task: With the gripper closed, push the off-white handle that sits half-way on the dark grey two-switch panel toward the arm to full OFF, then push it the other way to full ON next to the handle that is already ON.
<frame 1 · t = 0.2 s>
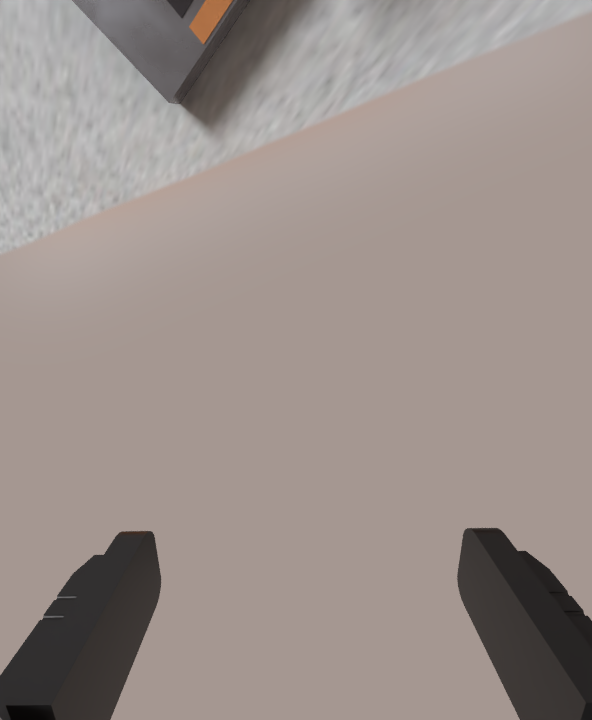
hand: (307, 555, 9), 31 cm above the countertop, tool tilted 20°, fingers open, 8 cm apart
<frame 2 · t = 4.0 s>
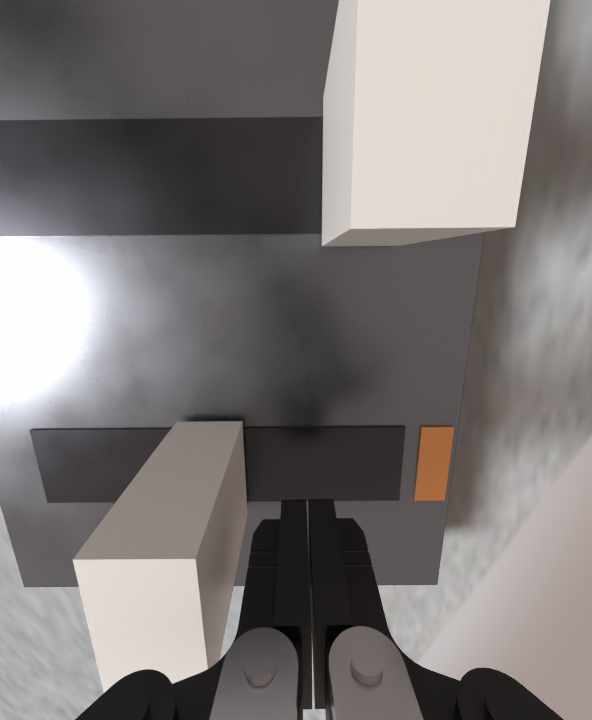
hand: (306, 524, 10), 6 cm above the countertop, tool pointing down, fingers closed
tripped handle: (189, 528, 10), point 6 cm above the countertop, slide at 4.8 cm, touching gripper
breaker panel: (227, 323, 15), on the countertop
on handle: (388, 141, 7), point 6 cm above the countertop, slide at 10.0 cm
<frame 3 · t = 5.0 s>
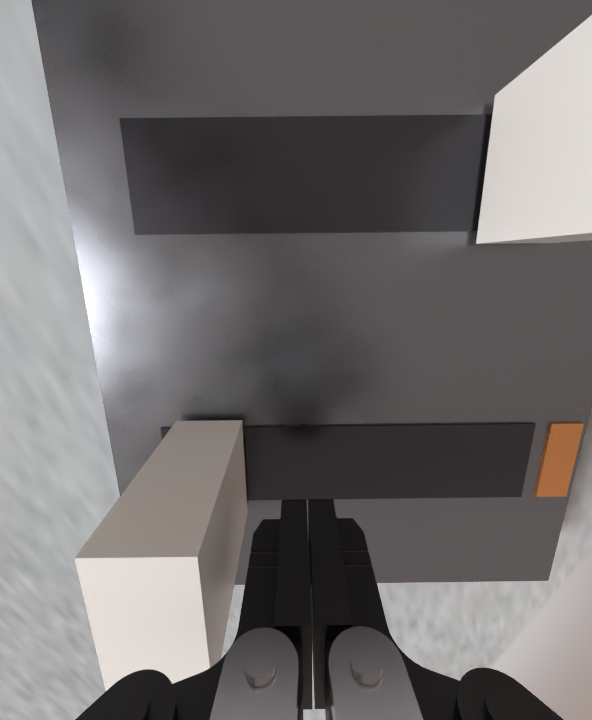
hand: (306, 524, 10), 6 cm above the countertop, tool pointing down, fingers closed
tripped handle: (190, 527, 10), point 6 cm above the countertop, slide at -0.1 cm, touching gripper
breaker panel: (339, 321, 15), on the countertop
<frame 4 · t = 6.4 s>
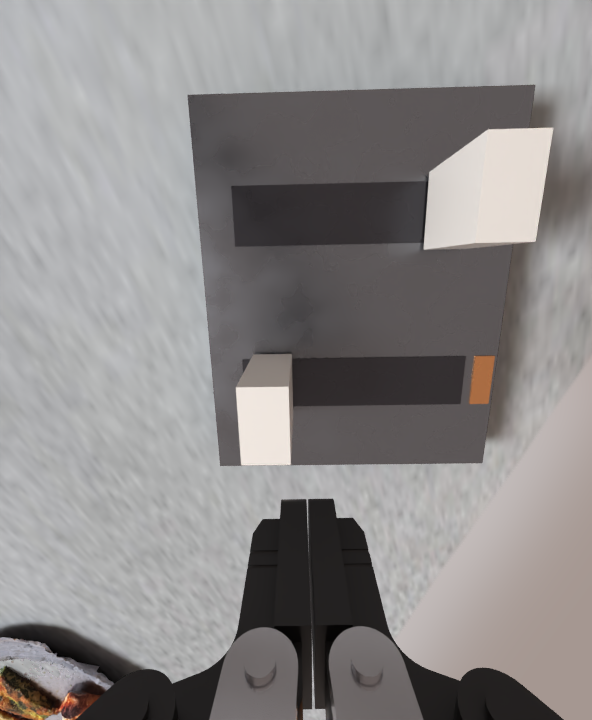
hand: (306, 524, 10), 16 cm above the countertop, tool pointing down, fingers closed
tripped handle: (269, 402, 19), point 6 cm above the countertop, slide at -0.1 cm
breaker panel: (347, 298, 24), on the countertop
on handle: (474, 201, 16), point 6 cm above the countertop, slide at 10.0 cm
food plate: (50, 712, 36), on the countertop
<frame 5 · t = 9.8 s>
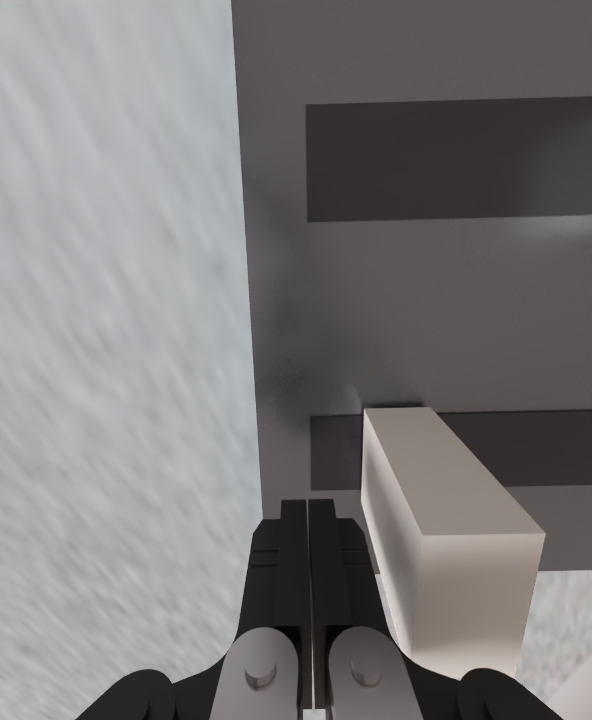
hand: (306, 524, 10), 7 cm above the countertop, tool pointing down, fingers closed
tripped handle: (422, 512, 10), point 6 cm above the countertop, slide at 1.2 cm, touching gripper
breaker panel: (468, 310, 15), on the countertop
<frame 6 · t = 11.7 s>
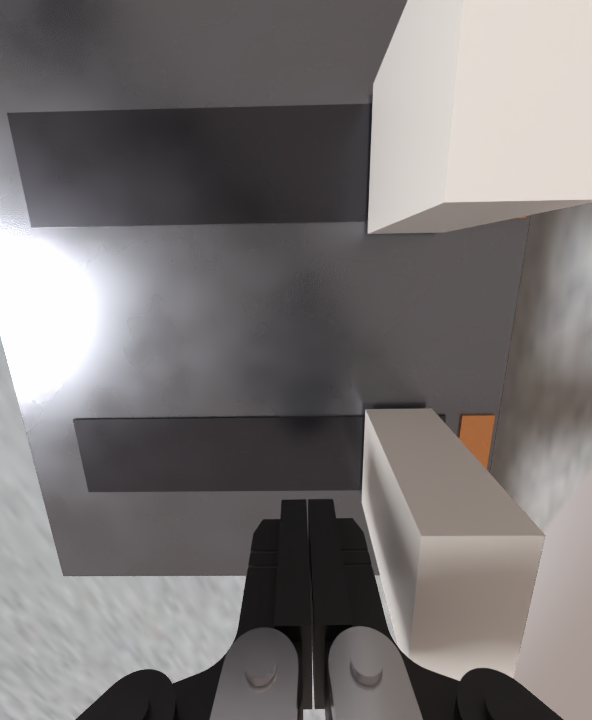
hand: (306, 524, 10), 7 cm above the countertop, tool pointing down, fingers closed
tripped handle: (422, 513, 10), point 6 cm above the countertop, slide at 10.2 cm, touching gripper
breaker panel: (262, 314, 15), on the countertop
on handle: (453, 123, 7), point 6 cm above the countertop, slide at 10.0 cm
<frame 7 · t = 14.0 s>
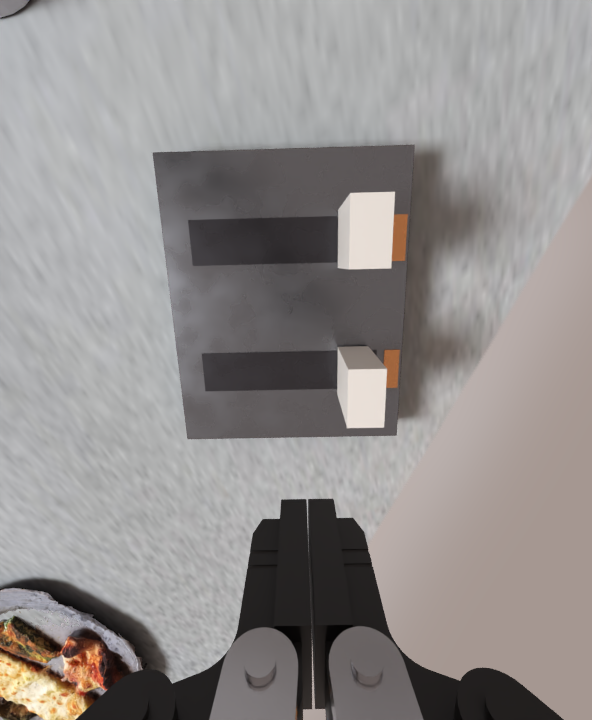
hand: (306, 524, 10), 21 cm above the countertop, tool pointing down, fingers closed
tripped handle: (358, 383, 25), point 6 cm above the countertop, slide at 10.1 cm
breaker panel: (288, 304, 29), on the countertop
on handle: (361, 235, 22), point 6 cm above the countertop, slide at 10.0 cm
food plate: (52, 657, 42), on the countertop
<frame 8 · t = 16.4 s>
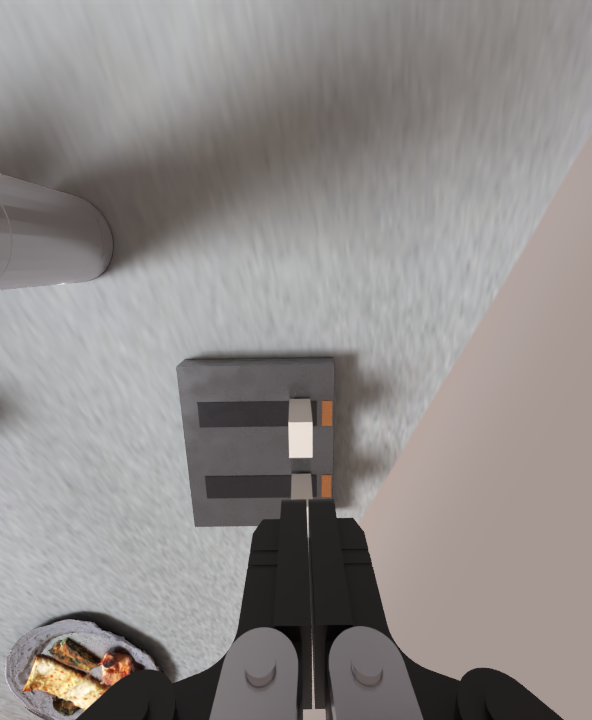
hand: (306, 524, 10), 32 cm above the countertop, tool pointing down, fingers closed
tripped handle: (301, 503, 40), point 6 cm above the countertop, slide at 10.1 cm
breaker panel: (262, 439, 45), on the countertop
on handle: (300, 426, 37), point 6 cm above the countertop, slide at 10.0 cm
food plate: (93, 666, 57), on the countertop
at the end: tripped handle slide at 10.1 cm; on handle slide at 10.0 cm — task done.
